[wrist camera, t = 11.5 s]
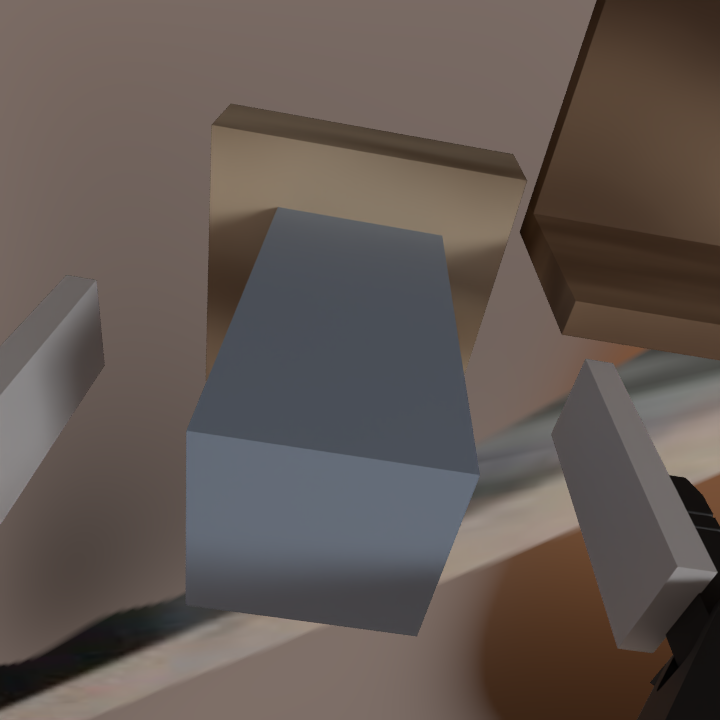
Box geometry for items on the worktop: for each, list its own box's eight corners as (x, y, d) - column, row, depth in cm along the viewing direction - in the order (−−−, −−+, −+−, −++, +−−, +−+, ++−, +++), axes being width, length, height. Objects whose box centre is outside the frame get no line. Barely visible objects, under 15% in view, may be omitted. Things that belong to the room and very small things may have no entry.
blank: (278, 207, 19) (186, 430, 10) (442, 235, 19) (480, 475, 11) (265, 344, 21) (185, 604, 13) (407, 367, 22) (416, 636, 13)
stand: (230, 103, 19) (211, 125, 17) (513, 154, 20) (526, 180, 18) (221, 342, 24) (205, 380, 22) (445, 377, 25) (450, 417, 23)
